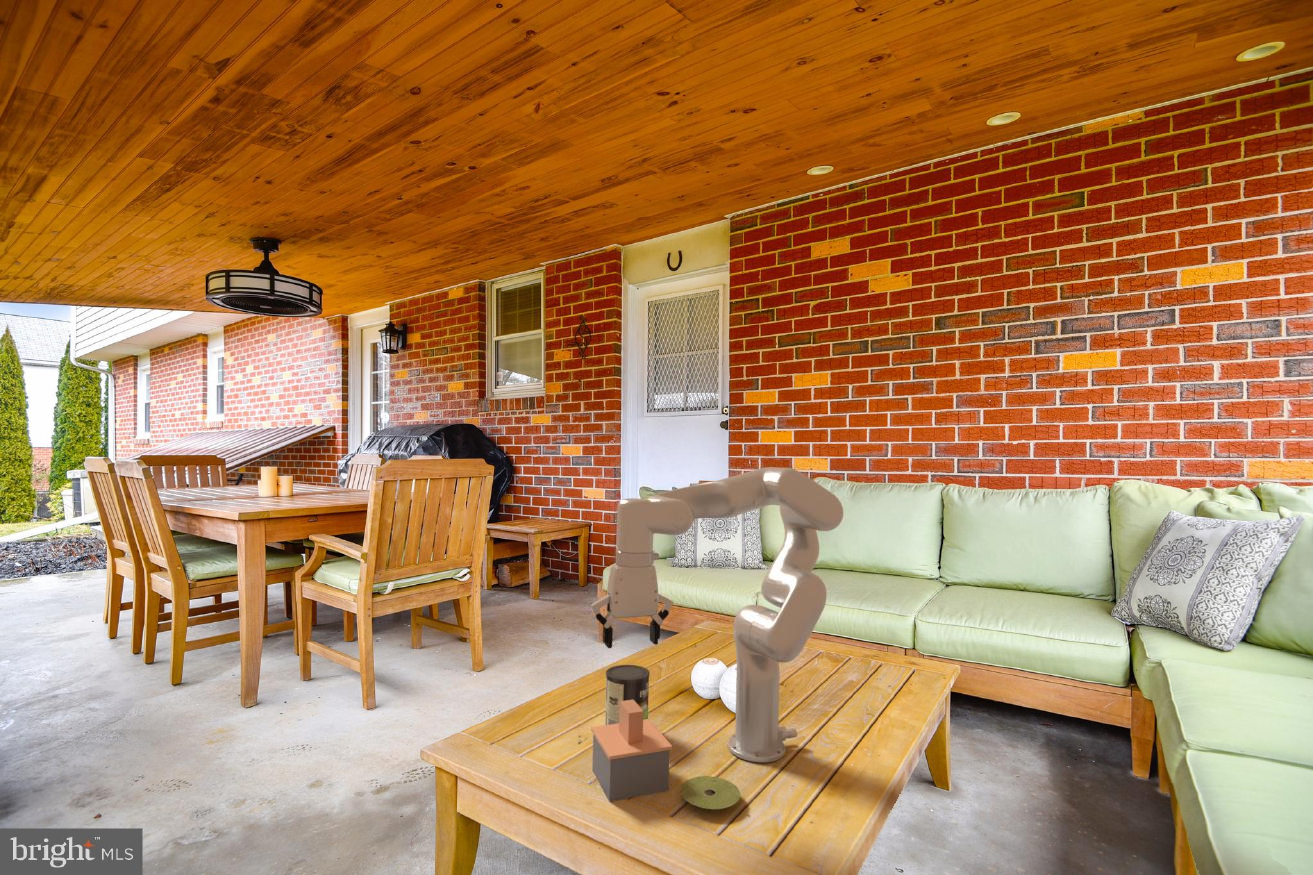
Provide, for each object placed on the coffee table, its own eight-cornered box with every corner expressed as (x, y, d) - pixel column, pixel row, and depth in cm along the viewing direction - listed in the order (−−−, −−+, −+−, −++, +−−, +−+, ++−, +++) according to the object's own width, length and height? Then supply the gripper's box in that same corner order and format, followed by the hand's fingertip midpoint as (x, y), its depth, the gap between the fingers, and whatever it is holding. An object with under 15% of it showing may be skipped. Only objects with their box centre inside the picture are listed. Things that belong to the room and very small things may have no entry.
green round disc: (696, 779, 122) (696, 769, 122) (749, 796, 116) (749, 786, 116) (669, 806, 112) (669, 795, 112) (725, 826, 106) (725, 815, 107)
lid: (648, 725, 129) (649, 690, 130) (672, 753, 118) (673, 714, 118) (590, 734, 125) (591, 697, 125) (608, 764, 113) (610, 723, 113)
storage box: (646, 760, 129) (647, 722, 129) (668, 790, 118) (669, 748, 118) (592, 770, 124) (593, 730, 125) (609, 801, 113) (610, 758, 113)
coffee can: (652, 725, 146) (653, 666, 146) (642, 745, 136) (644, 681, 136) (610, 720, 148) (612, 662, 148) (598, 739, 138) (600, 677, 138)
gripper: (667, 555, 129) (664, 636, 129) (588, 557, 124) (585, 642, 123) (680, 561, 122) (677, 646, 122) (597, 564, 117) (594, 653, 116)
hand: (631, 644), depth 122 cm, fingers open, 9 cm apart
